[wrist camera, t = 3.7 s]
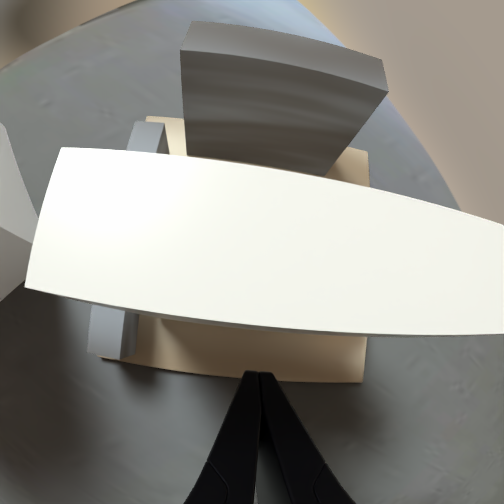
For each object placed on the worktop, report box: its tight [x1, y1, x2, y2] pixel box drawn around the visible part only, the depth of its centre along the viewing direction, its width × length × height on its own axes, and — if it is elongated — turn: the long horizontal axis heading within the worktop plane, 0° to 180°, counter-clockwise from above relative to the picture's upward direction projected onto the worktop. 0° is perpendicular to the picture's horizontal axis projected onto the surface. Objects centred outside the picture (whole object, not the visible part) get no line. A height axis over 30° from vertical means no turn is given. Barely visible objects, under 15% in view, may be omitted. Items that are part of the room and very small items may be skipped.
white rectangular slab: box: [25, 148, 504, 337], centre depth 10 cm, size 2×10×12 cm, turn 84°
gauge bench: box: [87, 21, 389, 382], centre depth 13 cm, size 14×14×8 cm
